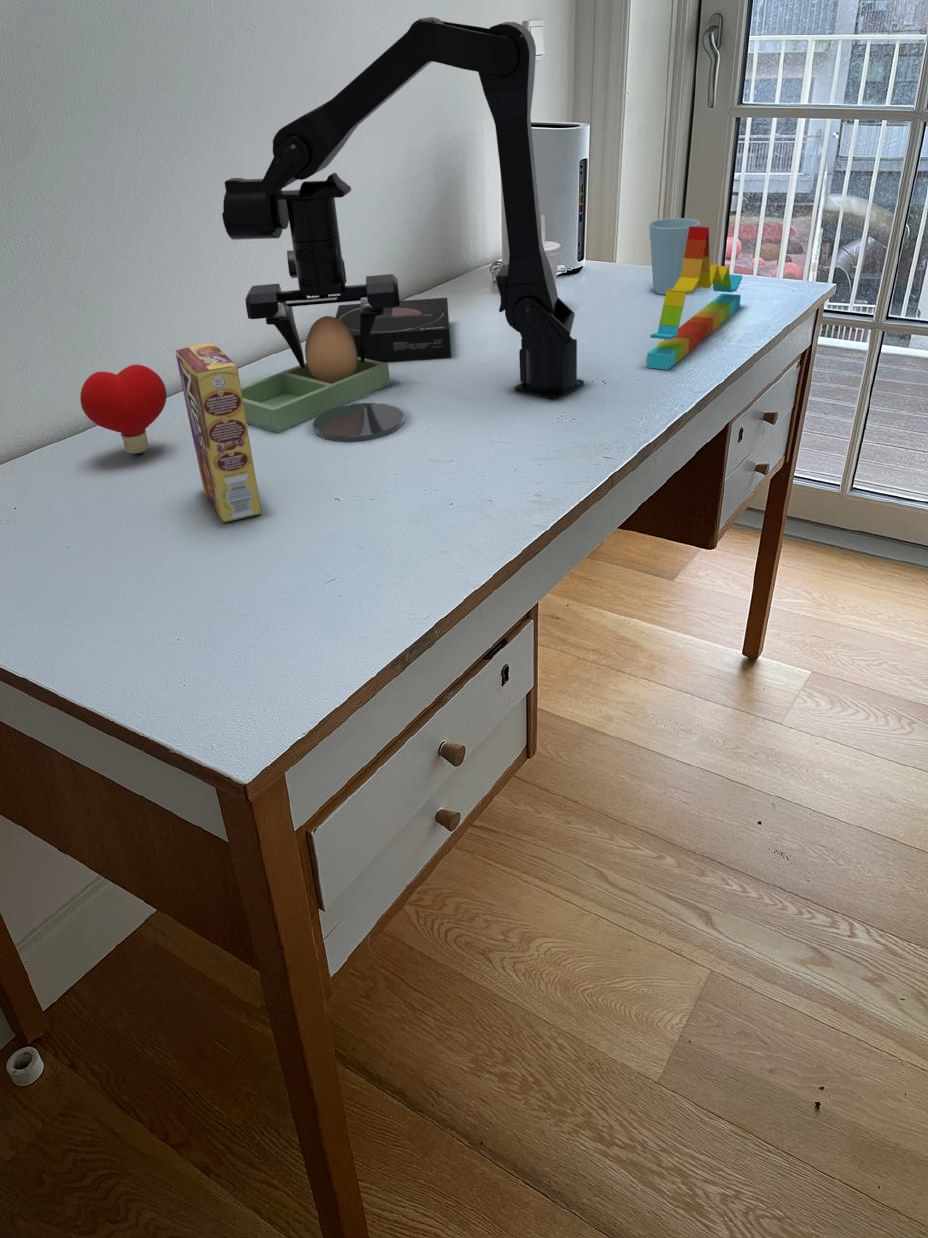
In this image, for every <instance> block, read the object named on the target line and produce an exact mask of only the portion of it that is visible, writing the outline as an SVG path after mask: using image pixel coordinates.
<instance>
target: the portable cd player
mask: <svg viewBox="0 0 928 1238" xmlns="http://www.w3.org/2000/svg"><path fill="white" fill-rule="evenodd" d="M448 302H449V301H448V297H436V298H421V299H407V300H400V306H397V307H391V308H384V314H383V315H378V316H376V318H375V321H374V324H373V326H372V329H371V332H370V335H369V340H368V345H367V350H366V355H365V359H370V360H374V361H379V362H383V363H392V362H407V361H408V362H409V361H422V360H437V359H451V358H452V348H451V347H452V346H451V333H450V316H449V305H448ZM360 304H361V303H350V304H339V305H338V307H337V311H336V314H335V317H334V318H337V319H338V320H340V321H341V322H342V323H343V324H344V325H345V326H346V327H347V328H348V330H349V332H350V333H351V335H352V337H353V339H354V341H355V345H356V349H357V356H358V357H360Z"/></svg>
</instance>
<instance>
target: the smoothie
mask: <svg viewBox="0 0 928 1238" xmlns="http://www.w3.org/2000/svg"><path fill="white" fill-rule="evenodd" d="M540 224H541V234H542V244H543V248H544V251H545V253H546V256H547V259H548V261H549V264H550V267H551V270H552V274H553V278H554V282H555V285H557V277H558V276H557V275H558V267H559V255H560V254H562V247H561V246H562V244H560V243H559V242H556V241H546V215H545V214H540Z"/></svg>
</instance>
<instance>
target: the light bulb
mask: <svg viewBox="0 0 928 1238" xmlns="http://www.w3.org/2000/svg"><path fill="white" fill-rule="evenodd" d="M166 388H167V387H166V384H165V383H164V380H163V379H162V378H161V376H160V375H159V373H157V372H156V371H154V370H153V369H152V368H150V367H148V366H146V365H143V364H130V365H129V366H127V367H125V368H123V369H122V370H120V371H119V372H118V373H113V372H109V371H96V372H94V373H91V374H90V375H89V376H88V377H87V378H86V380H85V381H84V383H83V384H82V387H81V389H80V397H79V398H80V406H81V409H82V411H83V413H84V414H85V416H86V417H87V418H88V419H89V420H90V421H91V422H93V424H95V425H97V426H99V427H101V428H104V429H106V430H110V431H113V432H117V433H120V436H121V439H122V441H123V445H124V451H126V452H128V453H130V454H132V455H134V456H137V457H138V456H142V455H143V454H144V453H145V452H146V450H147V449H148V448H149V447H150V443H149V440H148V436H147V430H146V429H147V428H149V426H151V424H152V423H154V422H155V421H156V420H157V419H158V417H159V416H160V415H161V413H162V412H163V411H164V408H165V405H166V403H167V395H168V394H167V389H166Z"/></svg>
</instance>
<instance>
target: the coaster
mask: <svg viewBox="0 0 928 1238" xmlns="http://www.w3.org/2000/svg"><path fill="white" fill-rule="evenodd" d="M404 421H405V417H404V413H403V411H401V410H400V408H397V407H395V406H393V405H390V404H385V403H377V402H360V403H352V404H351V403H350V404H344V405H341V406H339V407H336V408H334V409H331V410H328V411H326V412H324V413H322V414H320V415H318V416H316V417H315V419H314V420H313V423H312V427H313V431H314V433H315V434H316V435H317V436H318V437H321V438H322V439H326V440H330V441H336V442H362V441H369V440H373V439H378V438H380V437H381V438H382V437H384V436H388V435H390V434H392V433H393V432H395V431H397V430H399V429H400V428H401V427H402V425H403V424H404Z"/></svg>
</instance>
